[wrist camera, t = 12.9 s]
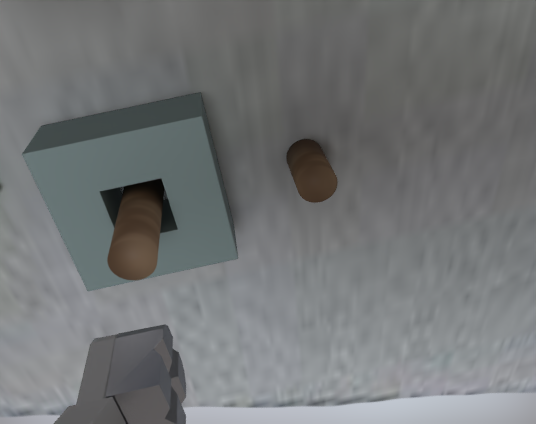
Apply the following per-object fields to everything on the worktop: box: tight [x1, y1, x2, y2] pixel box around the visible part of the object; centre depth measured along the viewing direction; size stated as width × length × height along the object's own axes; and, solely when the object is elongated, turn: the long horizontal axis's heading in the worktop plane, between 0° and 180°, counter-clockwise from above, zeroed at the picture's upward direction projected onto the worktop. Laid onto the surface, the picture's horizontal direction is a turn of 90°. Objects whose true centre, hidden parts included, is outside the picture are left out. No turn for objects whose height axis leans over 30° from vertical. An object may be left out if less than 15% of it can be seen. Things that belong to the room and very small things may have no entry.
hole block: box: [22, 92, 238, 291], centre depth 38 cm, size 12×12×5 cm
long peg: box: [107, 178, 164, 280], centre depth 36 cm, size 3×3×11 cm
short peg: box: [287, 139, 337, 202], centre depth 39 cm, size 3×3×5 cm
